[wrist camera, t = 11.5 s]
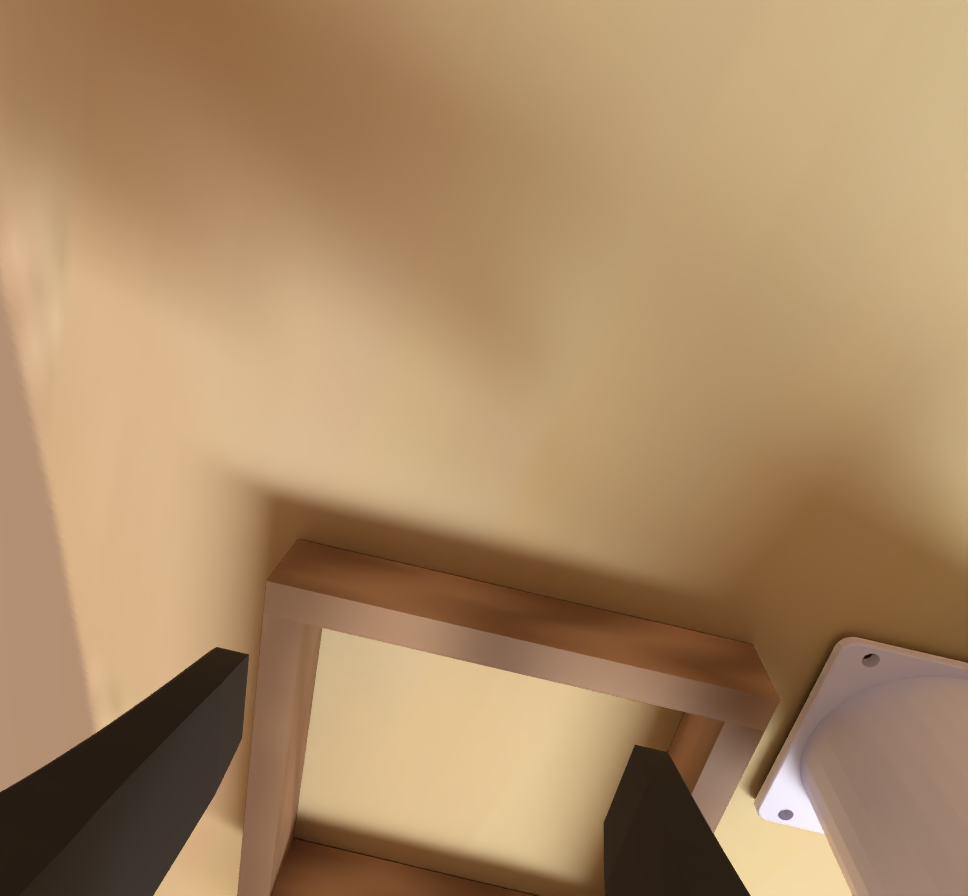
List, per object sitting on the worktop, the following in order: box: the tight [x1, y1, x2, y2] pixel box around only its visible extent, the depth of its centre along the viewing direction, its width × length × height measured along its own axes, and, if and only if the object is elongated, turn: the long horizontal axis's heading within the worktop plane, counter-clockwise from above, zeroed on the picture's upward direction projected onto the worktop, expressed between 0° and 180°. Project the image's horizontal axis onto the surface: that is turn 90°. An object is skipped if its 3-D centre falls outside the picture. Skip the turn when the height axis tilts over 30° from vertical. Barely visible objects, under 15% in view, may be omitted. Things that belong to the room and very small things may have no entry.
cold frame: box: [237, 539, 780, 896], centre depth 22 cm, size 15×15×2 cm
